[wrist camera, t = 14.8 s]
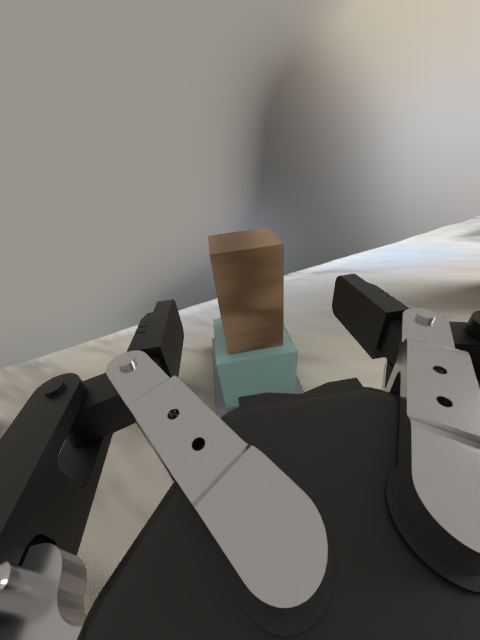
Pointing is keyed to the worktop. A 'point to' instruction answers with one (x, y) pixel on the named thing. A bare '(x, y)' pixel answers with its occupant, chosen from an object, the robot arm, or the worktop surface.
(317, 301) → the worktop surface
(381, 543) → the robot arm
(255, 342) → the walnut brick
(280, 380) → the tower base
